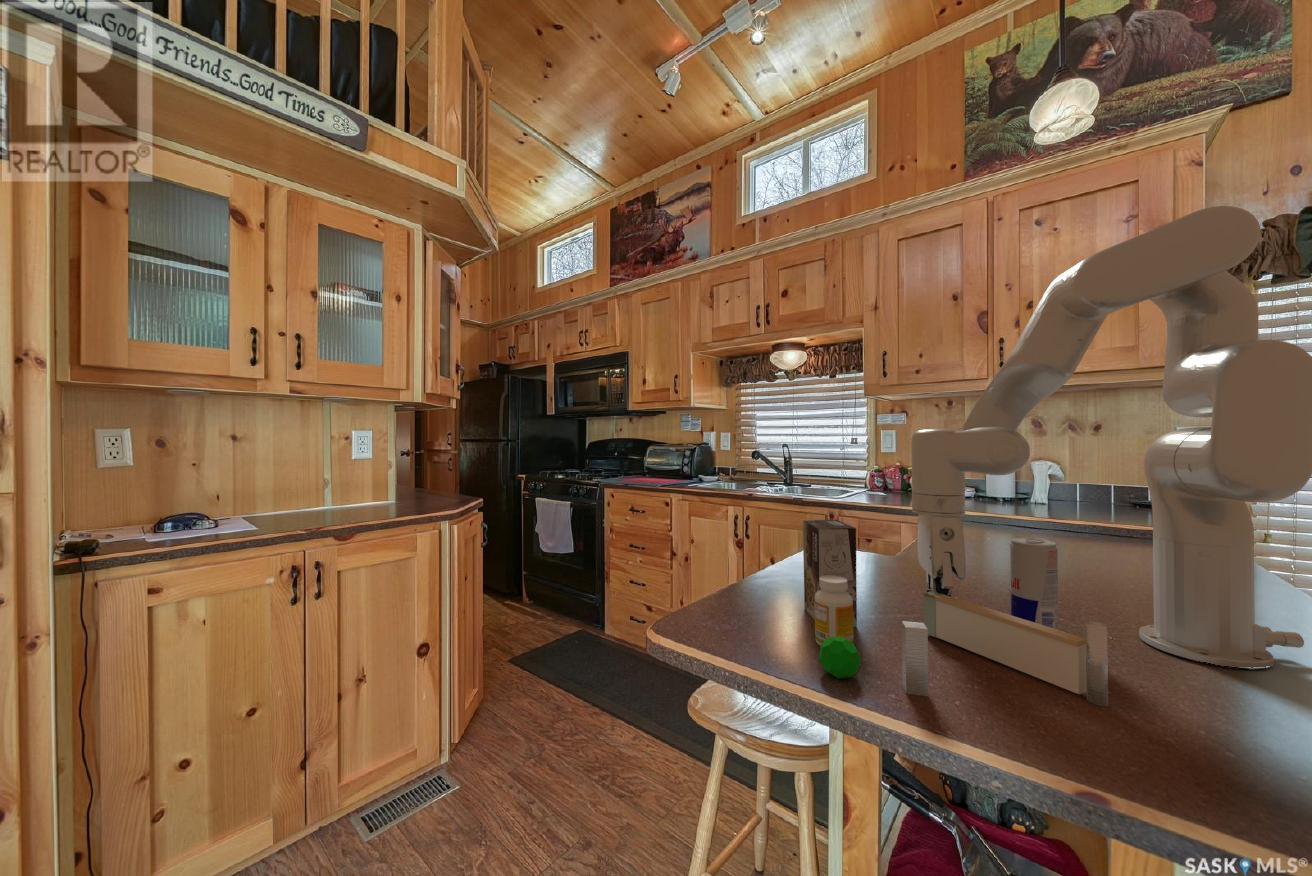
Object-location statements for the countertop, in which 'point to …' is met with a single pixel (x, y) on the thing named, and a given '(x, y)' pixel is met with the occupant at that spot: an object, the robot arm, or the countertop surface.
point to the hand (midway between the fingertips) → (938, 616)
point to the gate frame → (918, 660)
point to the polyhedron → (839, 657)
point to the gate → (1009, 640)
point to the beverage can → (1034, 581)
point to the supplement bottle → (833, 609)
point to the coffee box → (828, 558)
